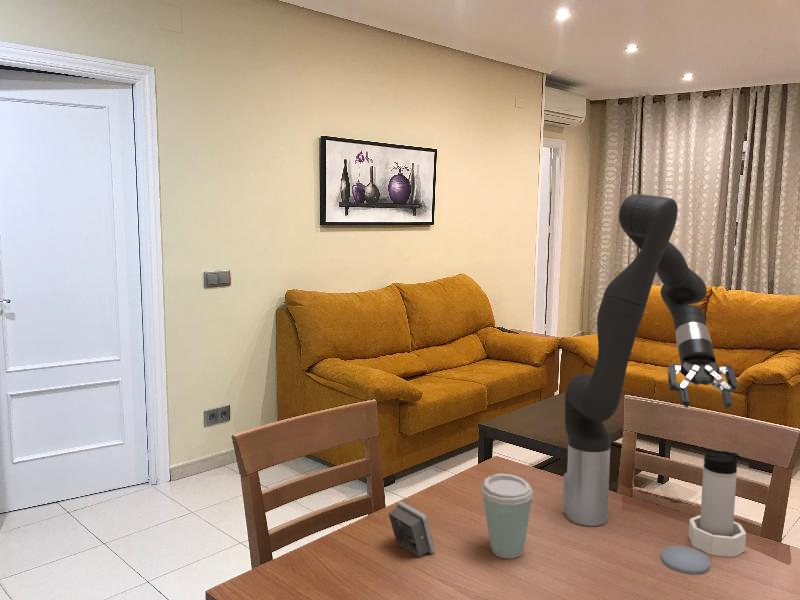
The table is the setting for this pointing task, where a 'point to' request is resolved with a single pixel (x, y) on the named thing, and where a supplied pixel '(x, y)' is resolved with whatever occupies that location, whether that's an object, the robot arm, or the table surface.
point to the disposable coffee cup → (507, 513)
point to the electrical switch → (411, 529)
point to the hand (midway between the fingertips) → (707, 406)
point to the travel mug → (718, 492)
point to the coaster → (685, 559)
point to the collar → (717, 540)
